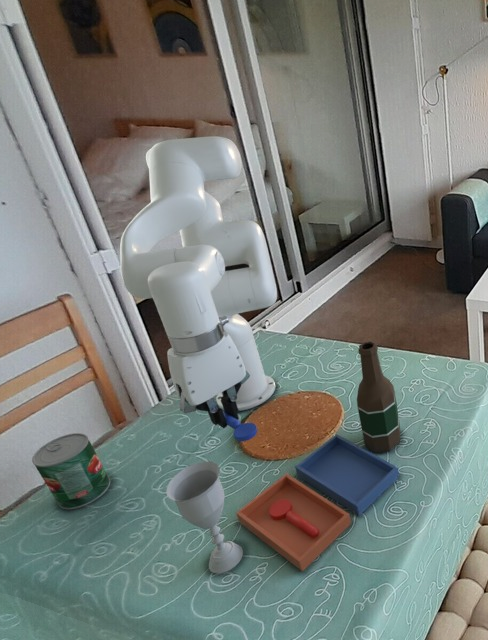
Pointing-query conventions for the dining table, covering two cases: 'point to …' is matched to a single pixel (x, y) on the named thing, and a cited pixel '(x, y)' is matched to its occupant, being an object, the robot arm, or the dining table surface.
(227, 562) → the chalice
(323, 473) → the blue tray
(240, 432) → the blue spoon
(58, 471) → the canned tomato
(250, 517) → the terracotta tray
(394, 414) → the beer bottle
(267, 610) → the dining table surface
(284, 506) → the red spoon
